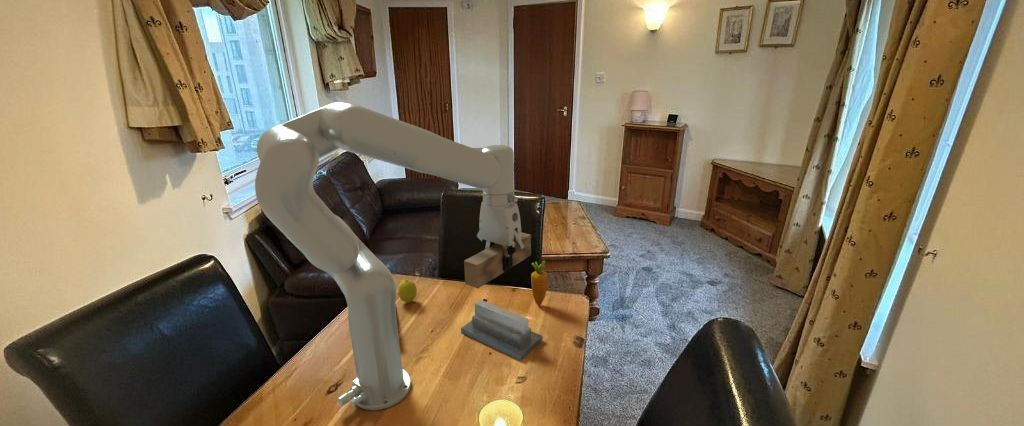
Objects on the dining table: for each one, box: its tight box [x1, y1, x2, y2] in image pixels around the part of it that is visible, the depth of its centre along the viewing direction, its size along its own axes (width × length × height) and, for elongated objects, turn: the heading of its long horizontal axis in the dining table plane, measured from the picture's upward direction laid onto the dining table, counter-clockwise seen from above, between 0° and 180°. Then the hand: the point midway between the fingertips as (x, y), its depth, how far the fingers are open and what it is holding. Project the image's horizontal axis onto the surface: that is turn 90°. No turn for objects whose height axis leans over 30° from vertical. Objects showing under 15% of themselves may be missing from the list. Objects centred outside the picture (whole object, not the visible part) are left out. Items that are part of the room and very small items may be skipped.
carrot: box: [530, 260, 548, 307], centre depth 122 cm, size 5×5×15 cm
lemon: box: [397, 279, 418, 304], centre depth 125 cm, size 6×6×8 cm
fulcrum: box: [460, 299, 543, 362], centre depth 108 cm, size 10×20×8 cm, turn 54°
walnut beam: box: [463, 231, 532, 289], centre depth 102 cm, size 22×4×6 cm, turn 144°
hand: (500, 266), depth 103 cm, fingers closed on walnut beam, 4 cm apart
